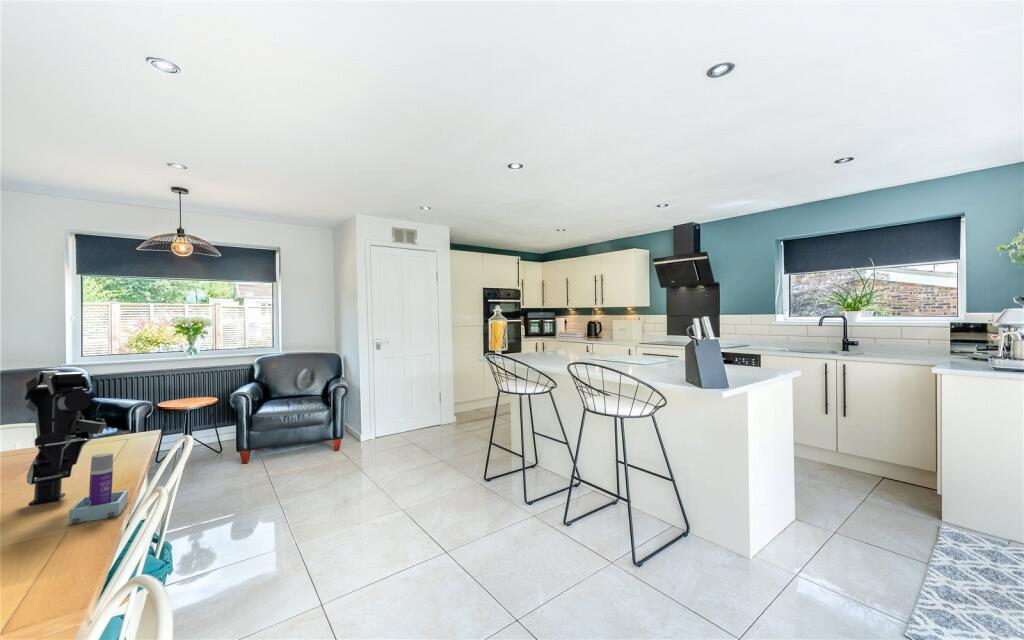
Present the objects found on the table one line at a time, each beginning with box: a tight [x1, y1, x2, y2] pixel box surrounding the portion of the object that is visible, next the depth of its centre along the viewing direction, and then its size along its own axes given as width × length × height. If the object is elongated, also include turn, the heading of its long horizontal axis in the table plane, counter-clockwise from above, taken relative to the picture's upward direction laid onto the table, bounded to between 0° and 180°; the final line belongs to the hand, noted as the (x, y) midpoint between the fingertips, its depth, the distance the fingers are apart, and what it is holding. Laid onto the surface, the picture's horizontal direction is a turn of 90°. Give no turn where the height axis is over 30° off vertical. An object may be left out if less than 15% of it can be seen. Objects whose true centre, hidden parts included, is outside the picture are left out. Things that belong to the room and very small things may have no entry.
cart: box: [68, 490, 129, 526], centre depth 120 cm, size 15×10×4 cm
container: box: [88, 452, 114, 507], centre depth 120 cm, size 5×5×15 cm
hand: (65, 466), depth 123 cm, fingers open, 9 cm apart
